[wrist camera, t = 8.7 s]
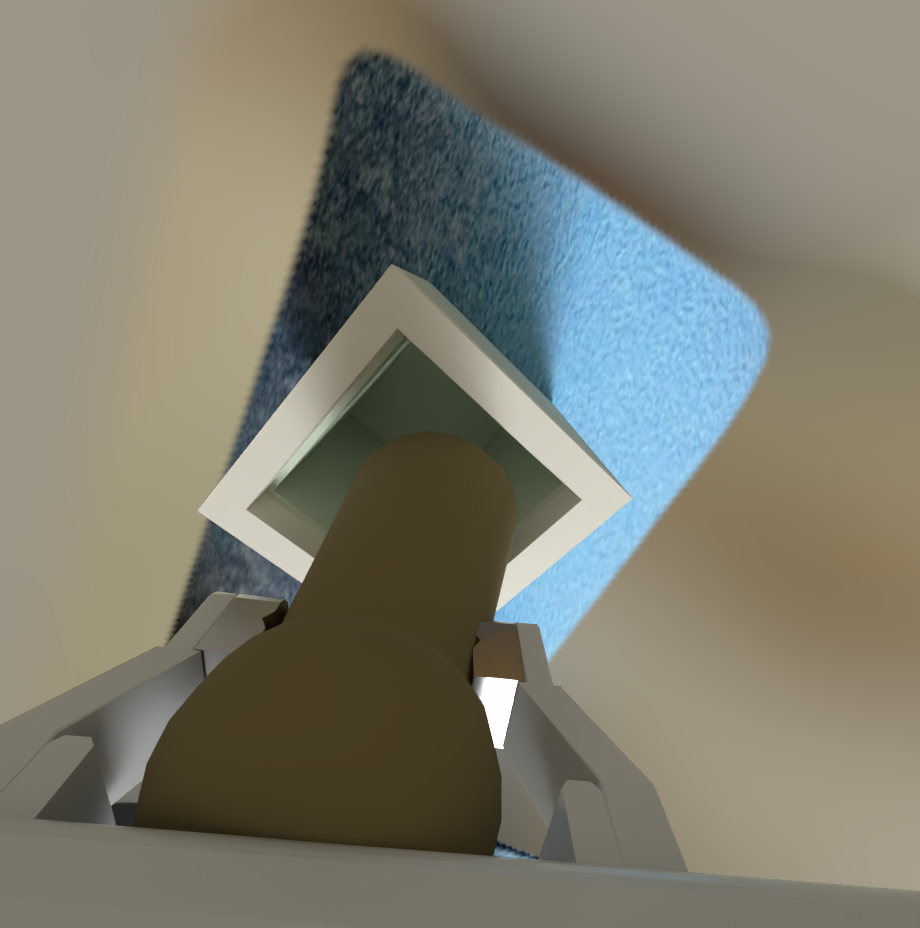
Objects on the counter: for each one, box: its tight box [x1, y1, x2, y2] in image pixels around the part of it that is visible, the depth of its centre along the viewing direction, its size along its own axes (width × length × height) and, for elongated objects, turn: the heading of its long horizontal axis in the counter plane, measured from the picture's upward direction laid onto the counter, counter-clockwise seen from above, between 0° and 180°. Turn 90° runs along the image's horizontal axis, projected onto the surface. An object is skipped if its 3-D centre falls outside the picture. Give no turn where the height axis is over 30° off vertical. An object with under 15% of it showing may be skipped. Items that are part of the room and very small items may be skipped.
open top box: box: [198, 264, 633, 611], centre depth 22 cm, size 11×11×14 cm
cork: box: [133, 431, 518, 856], centre depth 10 cm, size 6×6×11 cm
